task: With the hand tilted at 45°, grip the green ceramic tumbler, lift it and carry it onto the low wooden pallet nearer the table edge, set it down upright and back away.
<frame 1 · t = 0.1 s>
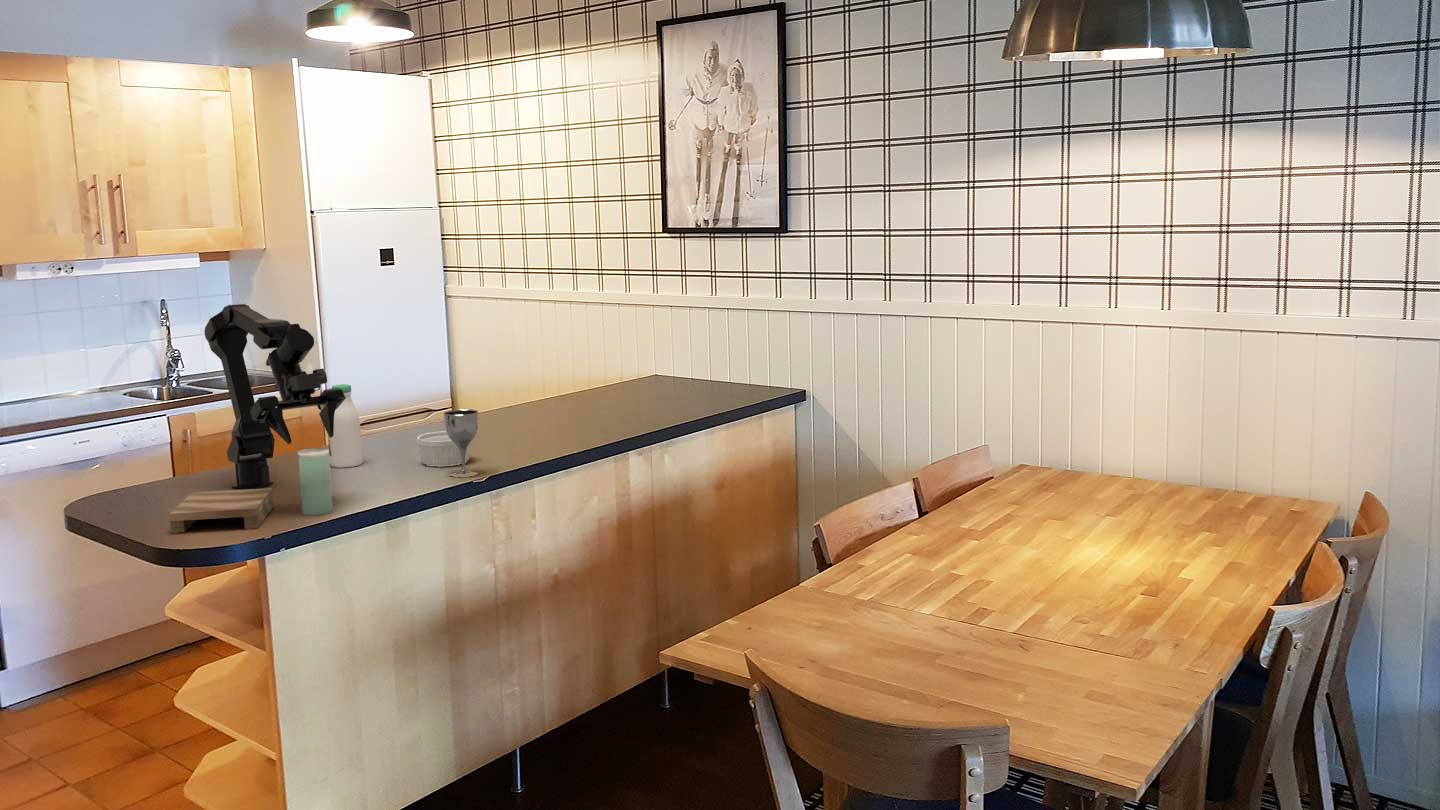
hand: (311, 439, 243), 15 cm above the table, tool tilted 35°, fingers open, 9 cm apart
ramekin: (445, 463, 290), on the table
tumbler: (317, 511, 243), on the table
wine glass: (464, 475, 276), on the table
wooden pallet: (224, 519, 237), on the table
milk bottle: (346, 465, 288), on the table
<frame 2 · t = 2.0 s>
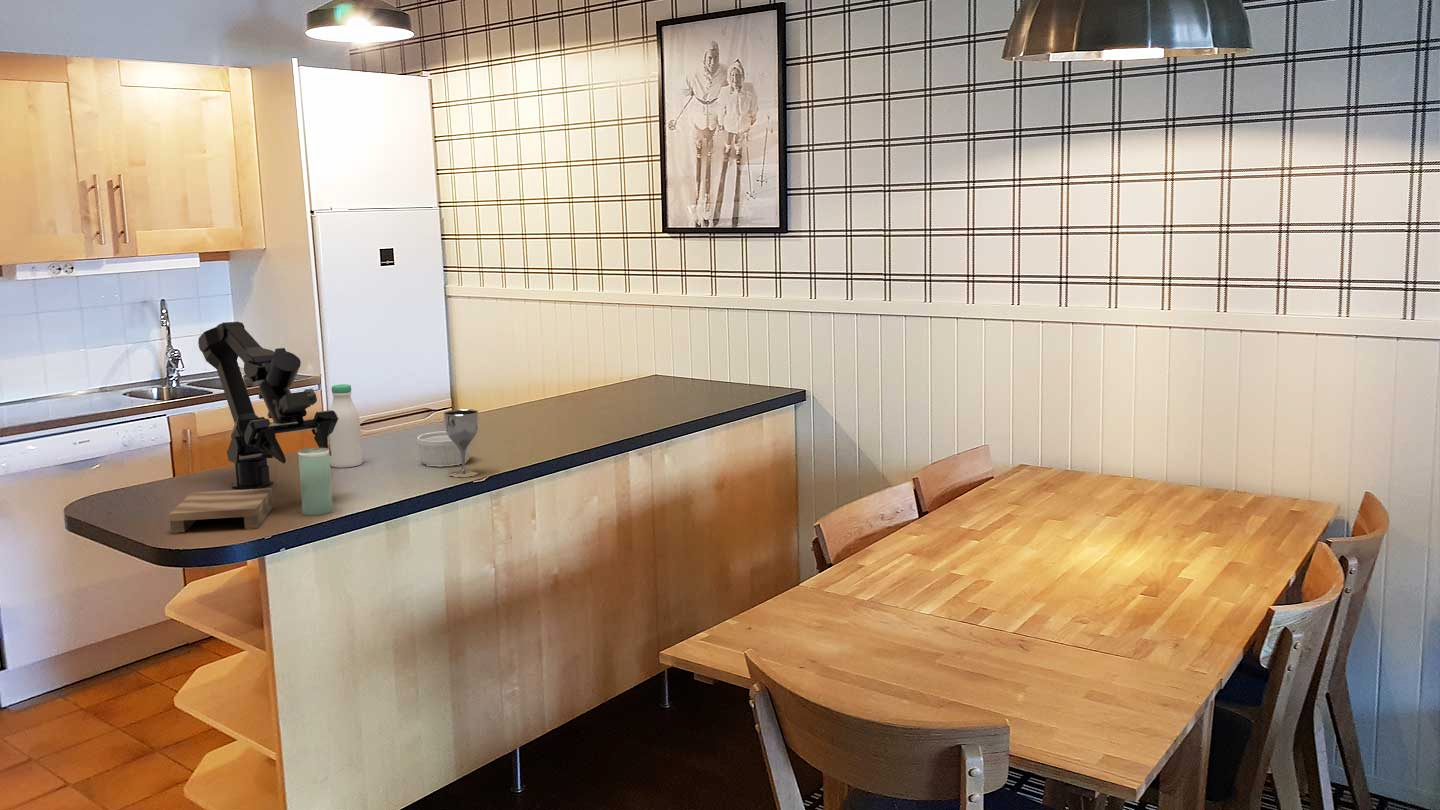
hand: (306, 458, 244), 11 cm above the table, tool tilted 45°, fingers open, 9 cm apart
nothing on the table moved.
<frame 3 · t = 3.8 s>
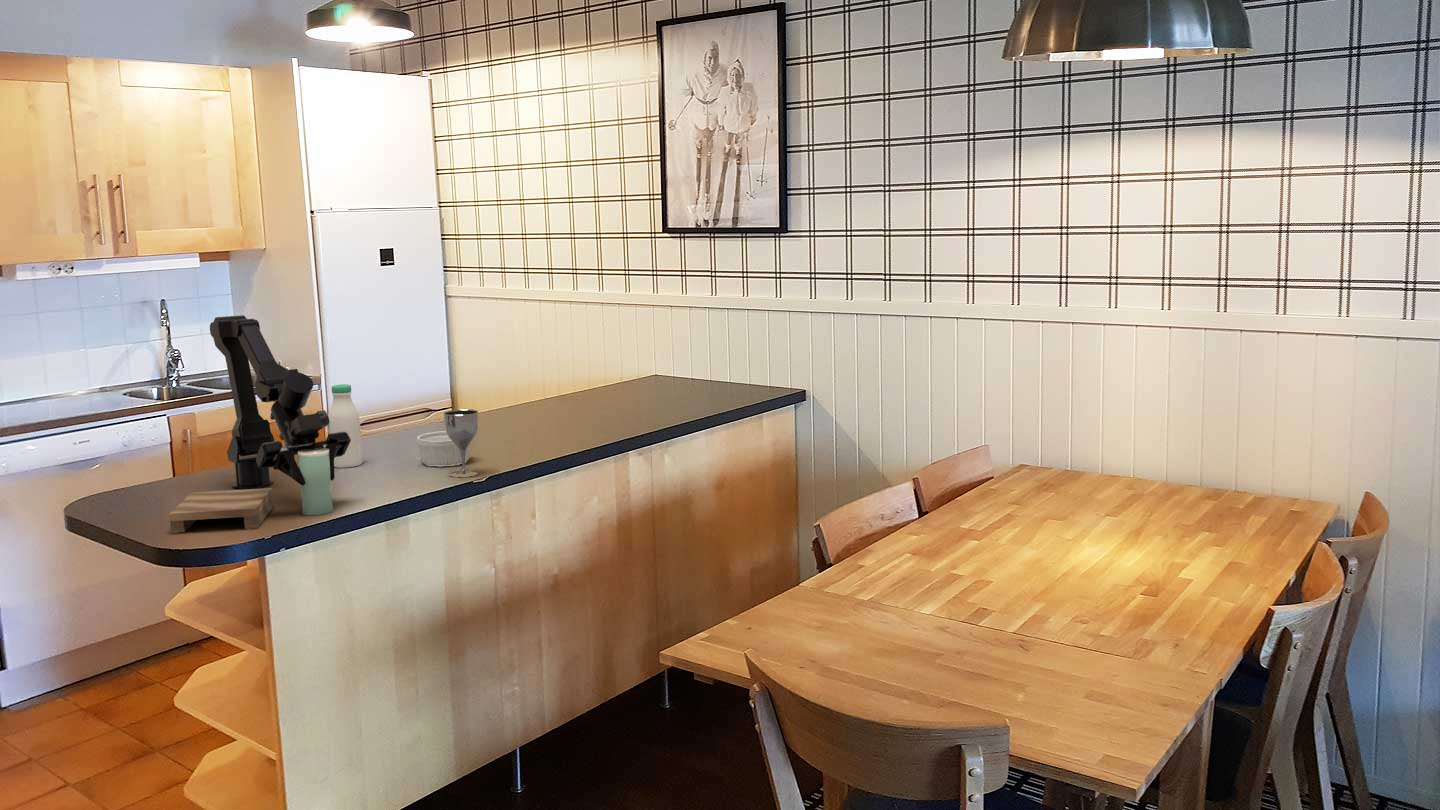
hand: (318, 481, 241), 7 cm above the table, tool tilted 45°, fingers closed on tumbler, 6 cm apart
tumbler: (317, 511, 243), on the table, touching gripper
everything else where it was.
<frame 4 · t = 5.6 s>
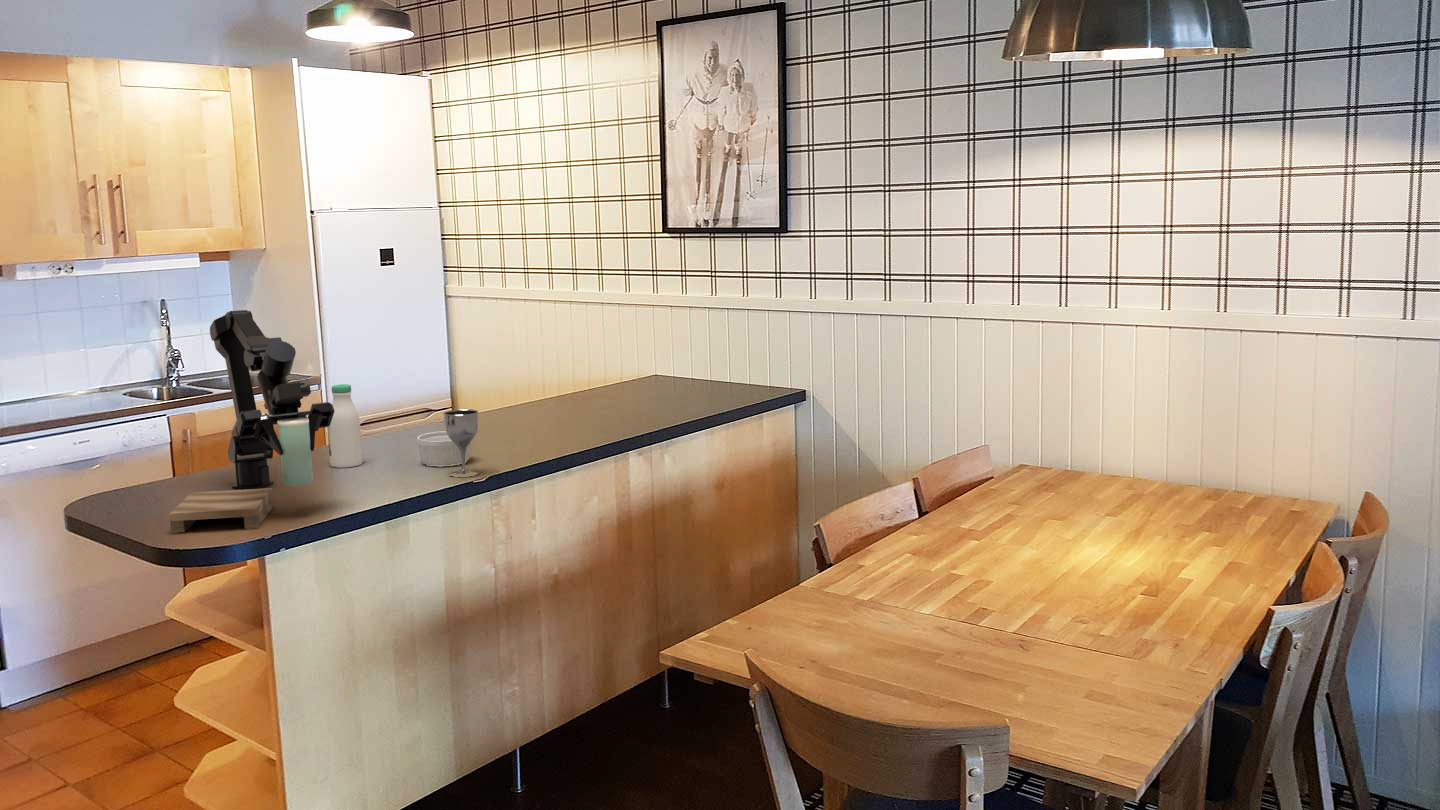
hand: (297, 451, 237), 13 cm above the table, tool tilted 45°, fingers closed on tumbler, 6 cm apart
tumbler: (297, 482, 239), point 7 cm above the table, touching gripper
everything else where it was.
when the fingers open (12 cm above the table, at t = 7.4 s): tumbler drops 1 cm, resting on wooden pallet.
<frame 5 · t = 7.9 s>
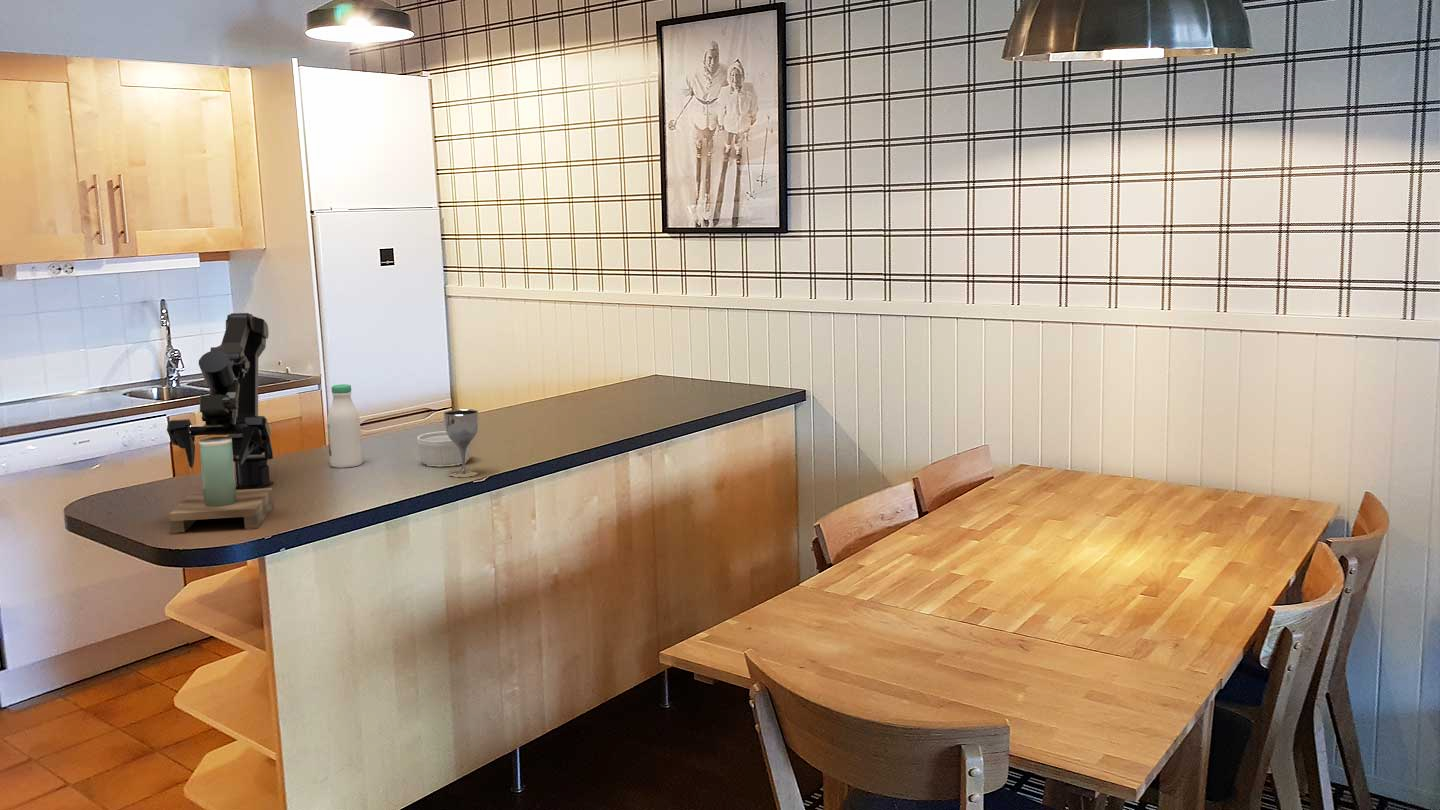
hand: (215, 465, 232), 12 cm above the table, tool tilted 45°, fingers open, 9 cm apart
tumbler: (220, 502, 234), point 4 cm above the table, touching wooden pallet
everything else where it was.
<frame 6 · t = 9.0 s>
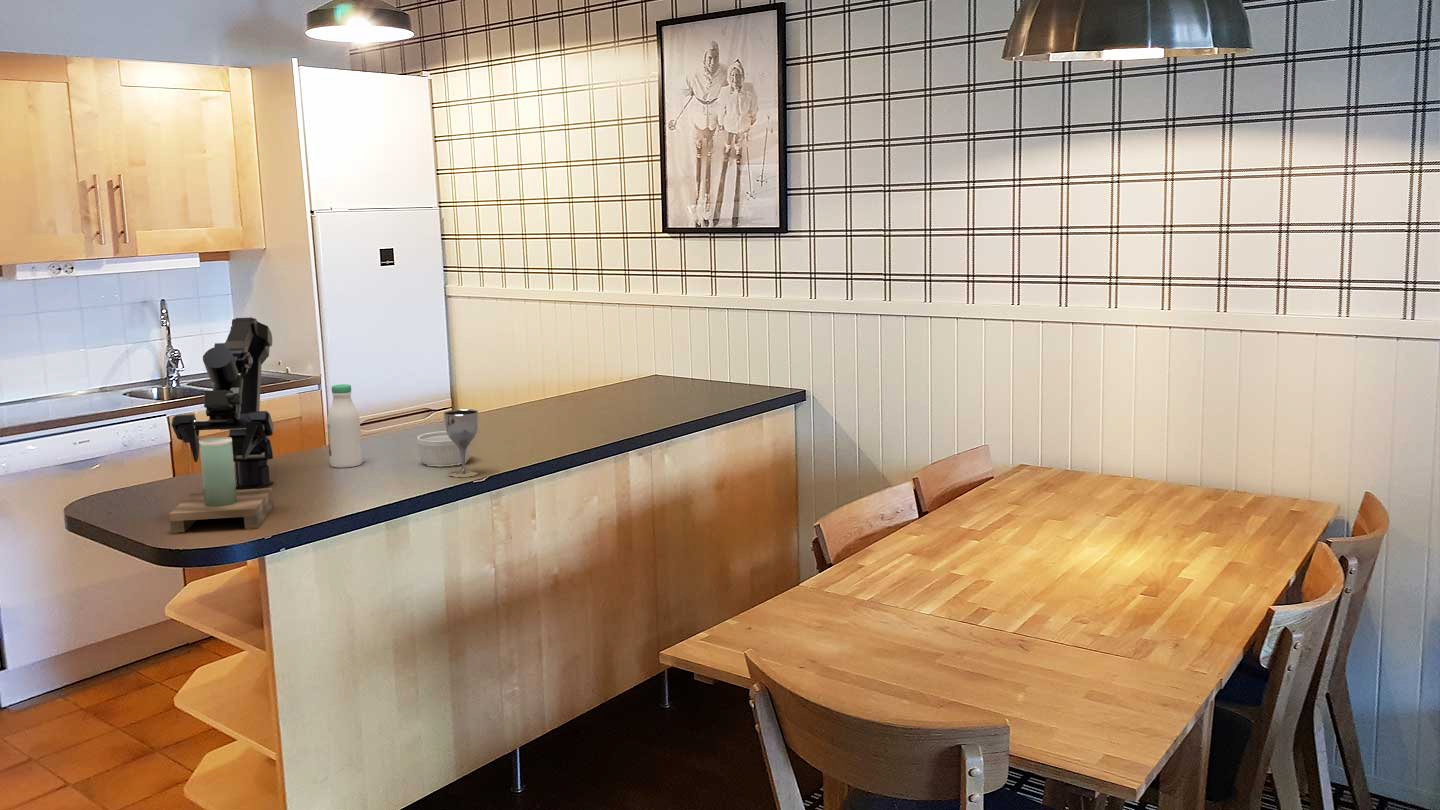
hand: (219, 459, 235), 12 cm above the table, tool tilted 45°, fingers open, 9 cm apart
nothing on the table moved.
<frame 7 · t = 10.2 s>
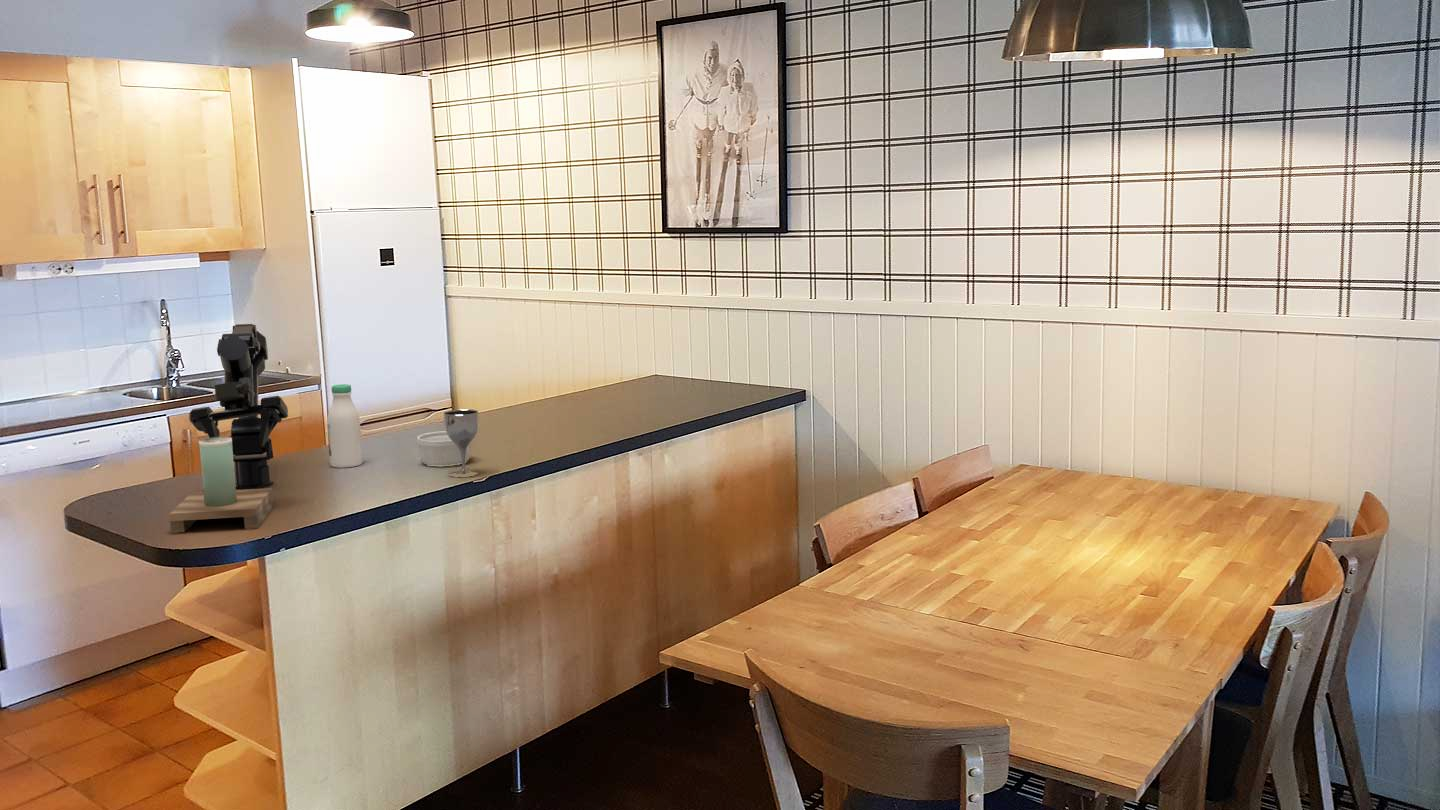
hand: (239, 449, 243), 13 cm above the table, tool tilted 40°, fingers open, 9 cm apart
nothing on the table moved.
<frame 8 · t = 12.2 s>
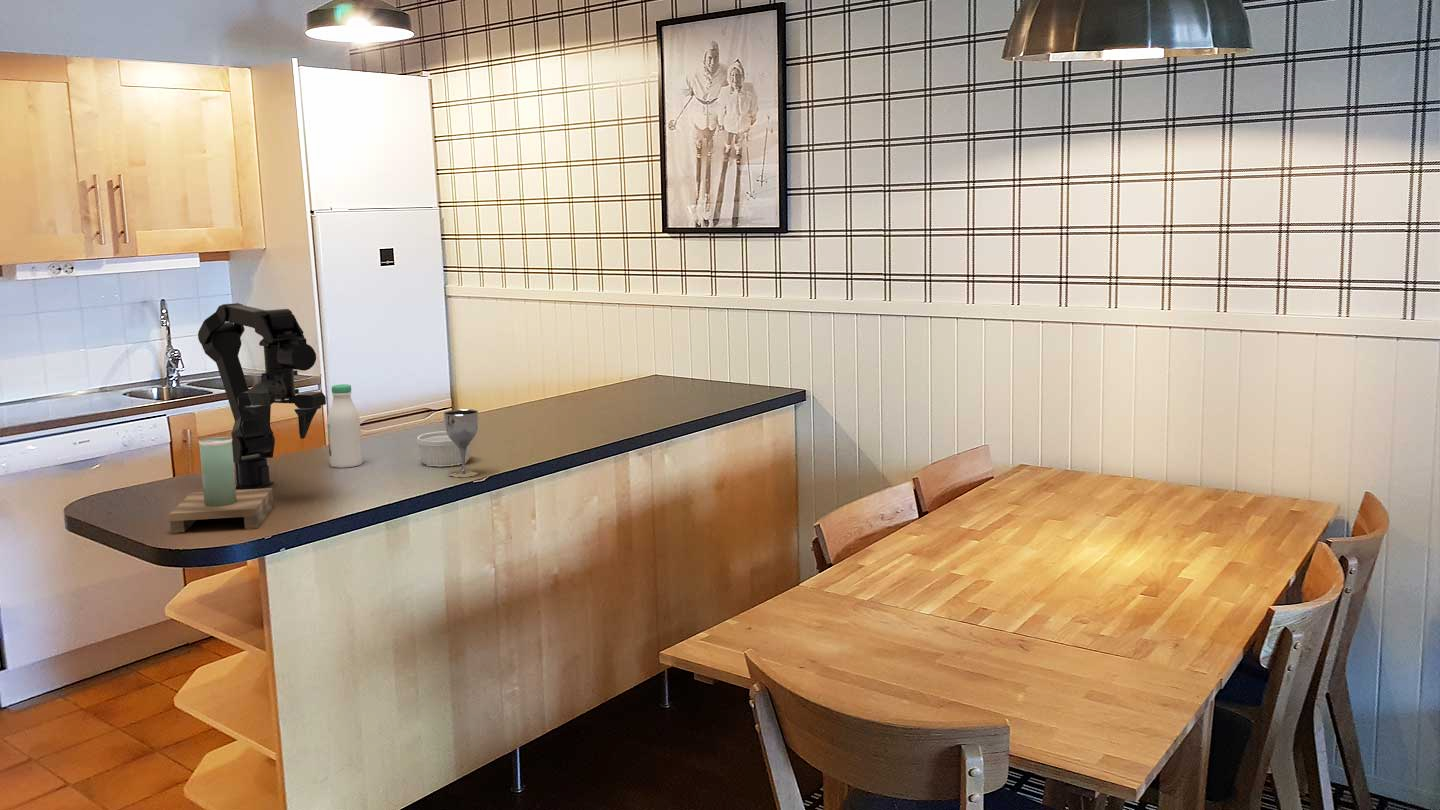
hand: (284, 437, 255), 13 cm above the table, tool pointing down, fingers open, 9 cm apart
nothing on the table moved.
at the end: tumbler inside the target area on the wooden pallet (2.1 cm from its centre), point 4.0 cm above the wooden pallet's base; tumbler tilted 0°; the gripper is holding nothing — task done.
